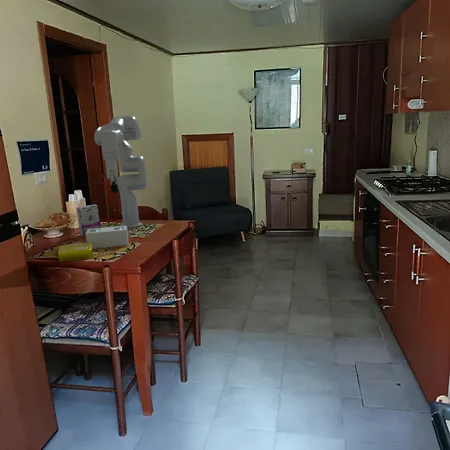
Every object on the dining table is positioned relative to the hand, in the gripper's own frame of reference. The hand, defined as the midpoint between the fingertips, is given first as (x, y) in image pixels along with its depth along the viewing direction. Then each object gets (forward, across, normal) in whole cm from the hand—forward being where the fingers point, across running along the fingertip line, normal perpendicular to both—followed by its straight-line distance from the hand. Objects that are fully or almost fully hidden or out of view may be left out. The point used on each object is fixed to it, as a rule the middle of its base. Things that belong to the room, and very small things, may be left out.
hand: (114, 192), depth 210 cm
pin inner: (+25, 0, 0) cm, 25 cm away
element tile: (+27, +15, -20) cm, 37 cm away
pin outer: (+25, 0, -12) cm, 28 cm away
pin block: (+27, 0, -6) cm, 27 cm away
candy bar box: (+27, -28, -18) cm, 43 cm away
